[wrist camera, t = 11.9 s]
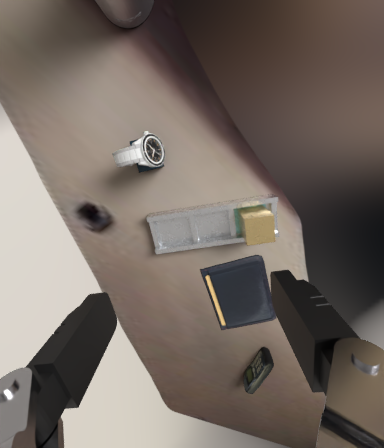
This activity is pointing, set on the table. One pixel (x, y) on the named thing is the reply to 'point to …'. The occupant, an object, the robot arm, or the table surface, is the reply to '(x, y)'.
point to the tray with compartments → (204, 224)
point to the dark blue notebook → (240, 292)
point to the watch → (142, 153)
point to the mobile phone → (258, 370)
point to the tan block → (256, 225)
